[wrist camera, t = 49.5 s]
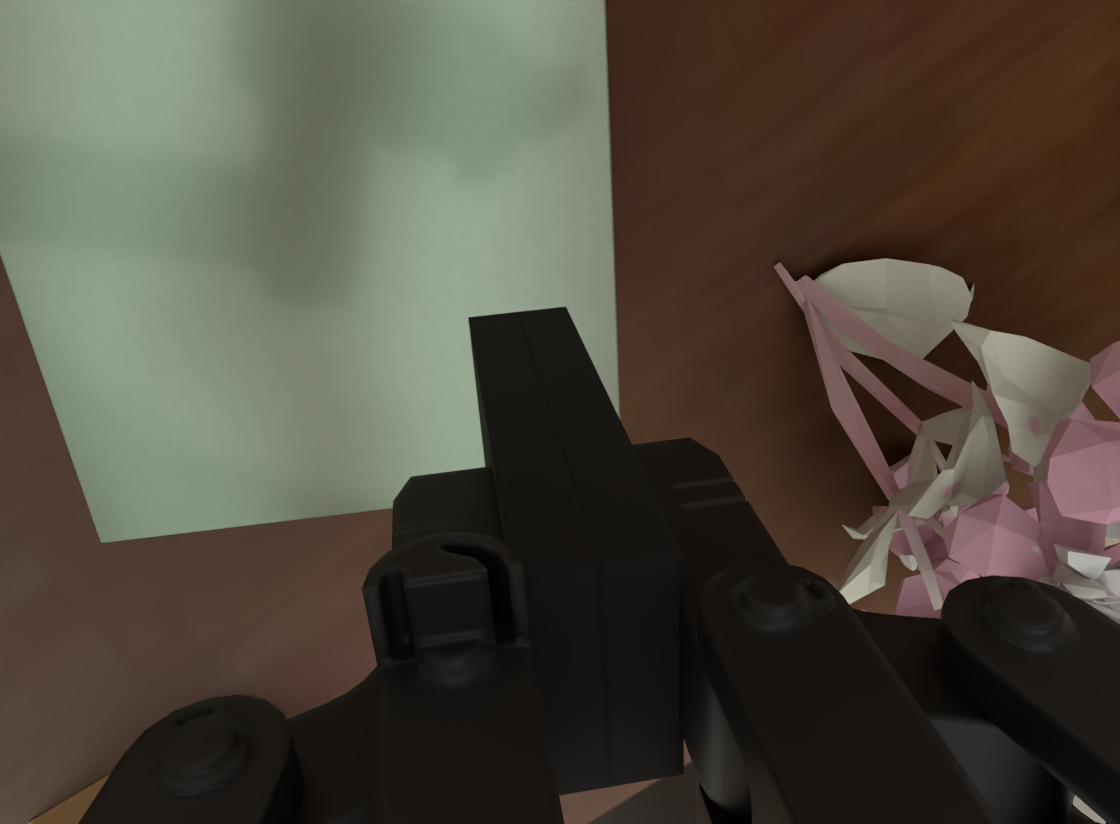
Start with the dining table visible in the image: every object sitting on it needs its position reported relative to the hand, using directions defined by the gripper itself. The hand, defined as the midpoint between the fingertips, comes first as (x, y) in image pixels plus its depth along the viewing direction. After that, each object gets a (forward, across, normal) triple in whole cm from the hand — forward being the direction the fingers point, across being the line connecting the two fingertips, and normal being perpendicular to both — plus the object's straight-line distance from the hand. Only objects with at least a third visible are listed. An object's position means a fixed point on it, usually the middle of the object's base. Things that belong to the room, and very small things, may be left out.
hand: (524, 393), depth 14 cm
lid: (+12, -4, 0) cm, 13 cm away
